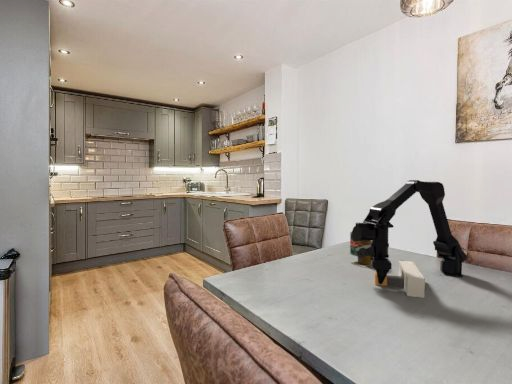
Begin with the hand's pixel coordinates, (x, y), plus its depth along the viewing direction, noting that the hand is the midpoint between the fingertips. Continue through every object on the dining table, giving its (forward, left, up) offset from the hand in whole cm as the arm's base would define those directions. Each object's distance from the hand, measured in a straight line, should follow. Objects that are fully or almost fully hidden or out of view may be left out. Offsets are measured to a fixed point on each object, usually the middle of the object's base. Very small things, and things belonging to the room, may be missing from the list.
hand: (379, 280), depth 110 cm
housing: (-10, 0, -1) cm, 11 cm away
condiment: (+5, -24, -1) cm, 25 cm away
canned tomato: (+7, -42, -1) cm, 43 cm away
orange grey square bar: (-6, 0, -1) cm, 6 cm away
